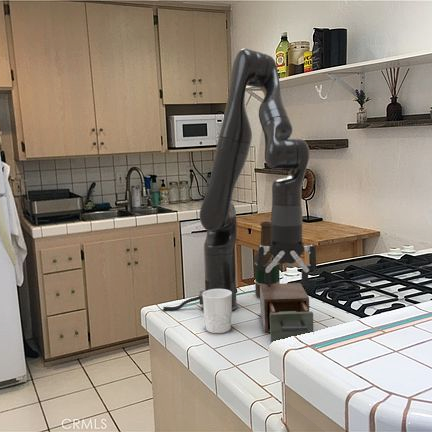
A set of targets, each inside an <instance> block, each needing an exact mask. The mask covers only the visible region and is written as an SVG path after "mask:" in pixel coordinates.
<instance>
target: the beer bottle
mask: <svg viewBox="0 0 432 432" xmlns="http://www.w3.org/2000/svg"><path fill="white" fill-rule="evenodd" d="M259 226H260V242H259V245H263V246H270V244H271V221H263V222H260V225H259ZM272 256H273V255H272V254H271V252H270V251H267V254H266V255H264V256H263V265H265V266H266V265H267V263H268V262H269V260H270V259H271V257H272ZM257 262H258V250H257V251H256V253H255V256H254V288H255V295H256V296H257V297H258V298H259V299H260V284H265V272H264V271H261V270H258V267H257ZM270 272H271V284H281V283H280V281H281V280H280V278H281V277H280V263H279V262H278V263H277V264H276V265H275V266H274V267H273V268H272V270H271V271H270Z"/></svg>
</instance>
